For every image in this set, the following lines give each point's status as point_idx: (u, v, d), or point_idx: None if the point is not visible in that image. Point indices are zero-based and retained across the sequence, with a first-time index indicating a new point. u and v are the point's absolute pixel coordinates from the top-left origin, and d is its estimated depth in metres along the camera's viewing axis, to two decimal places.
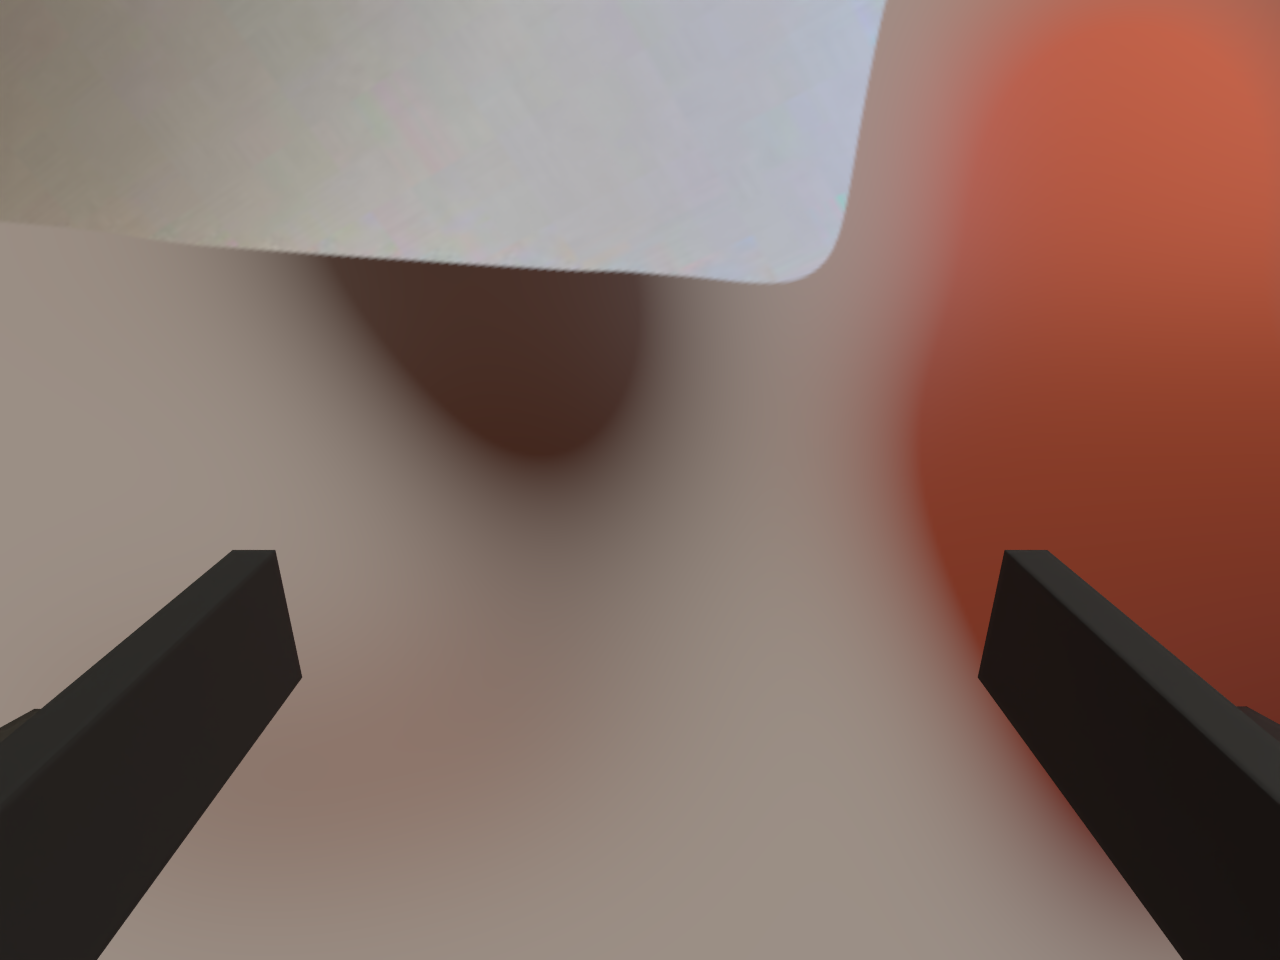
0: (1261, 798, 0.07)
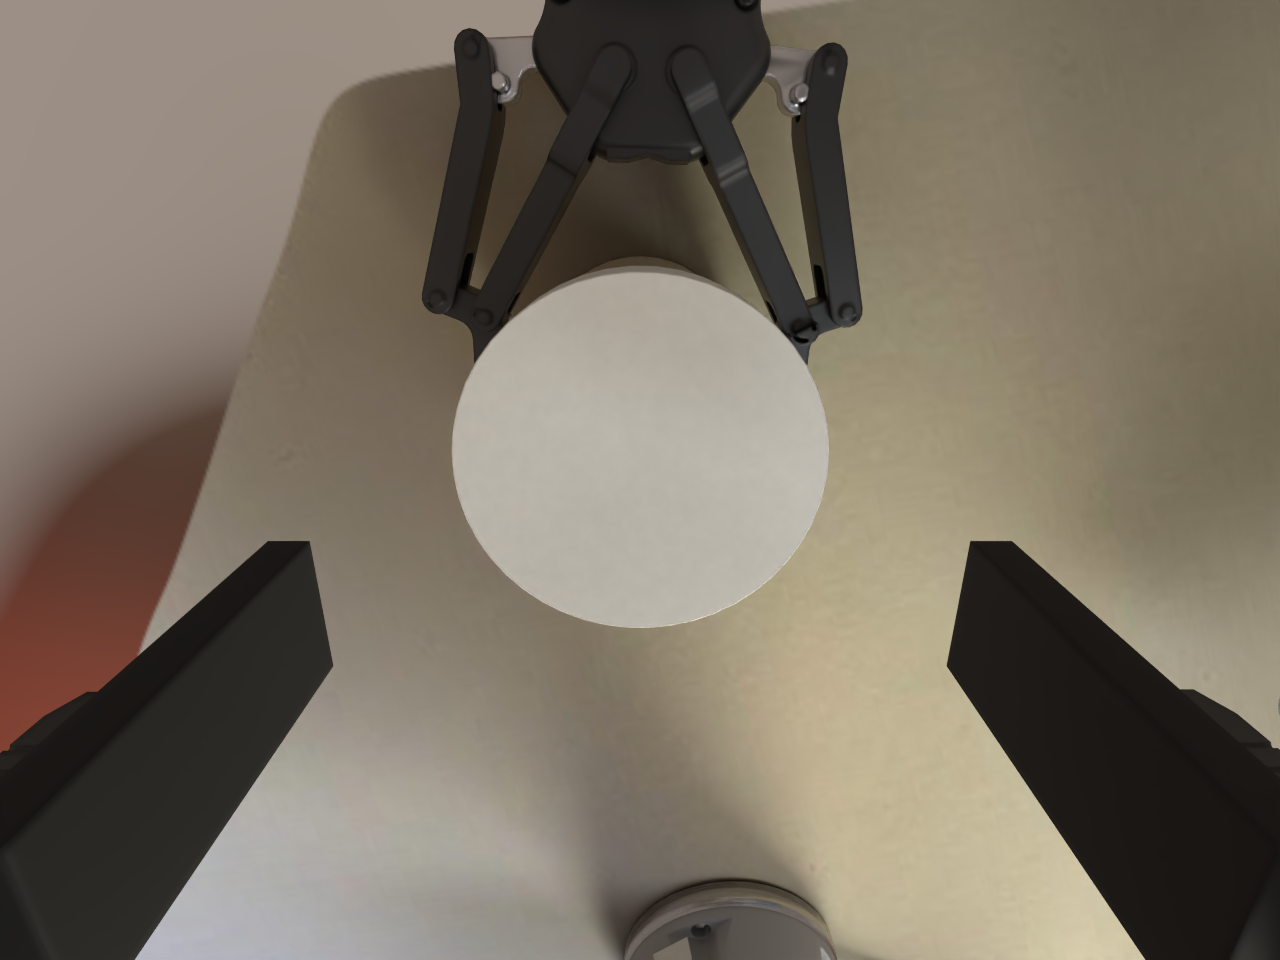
0: (1192, 772, 0.08)
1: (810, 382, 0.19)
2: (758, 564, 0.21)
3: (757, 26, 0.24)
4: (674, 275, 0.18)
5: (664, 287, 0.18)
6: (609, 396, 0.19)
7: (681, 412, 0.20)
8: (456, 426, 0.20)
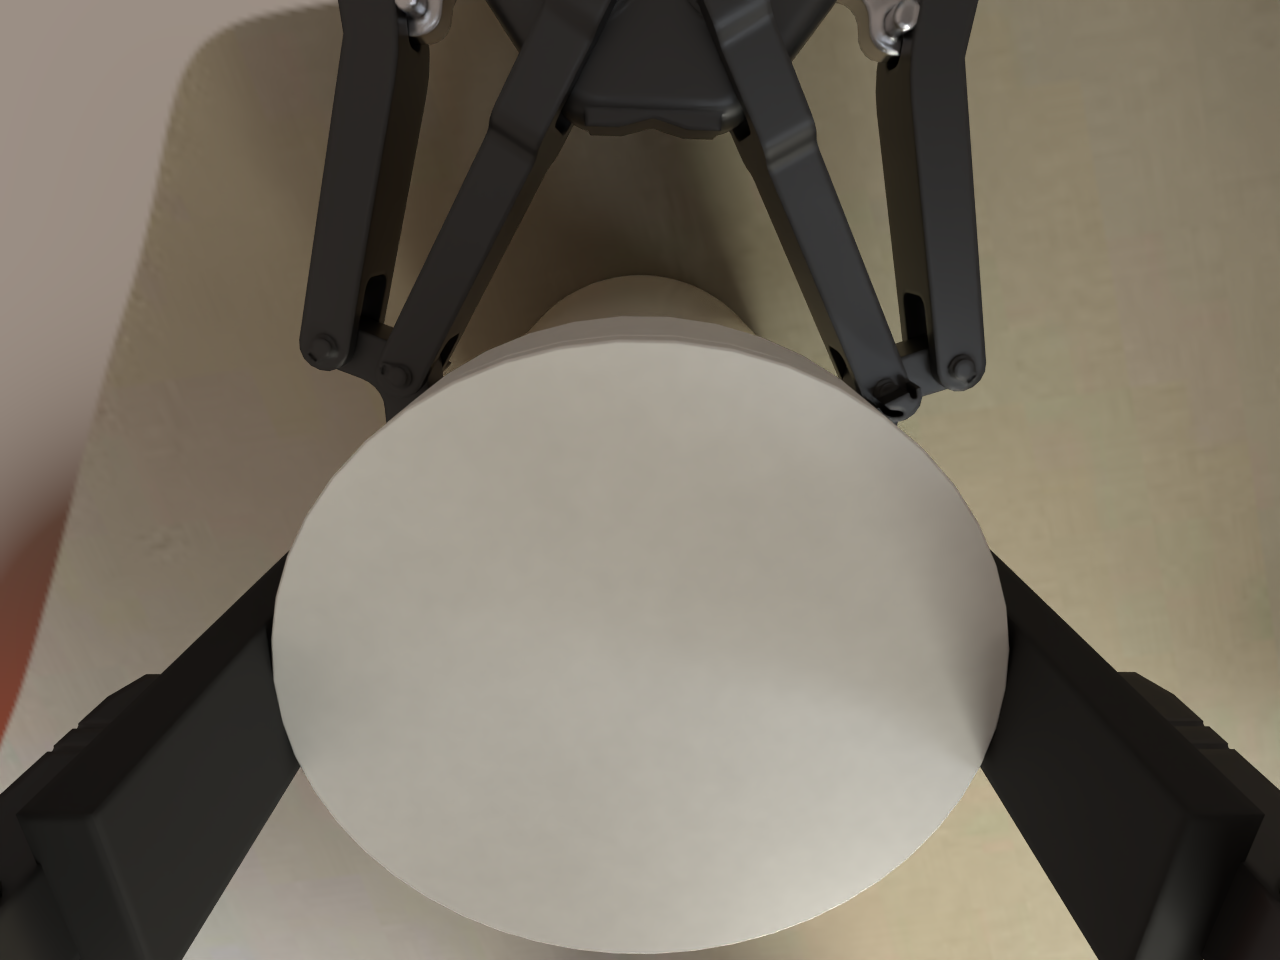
0: (1119, 746, 0.08)
1: (983, 556, 0.10)
2: (857, 860, 0.12)
3: None
4: (713, 347, 0.09)
5: (691, 372, 0.09)
6: (578, 580, 0.10)
7: (722, 610, 0.10)
8: (278, 635, 0.10)
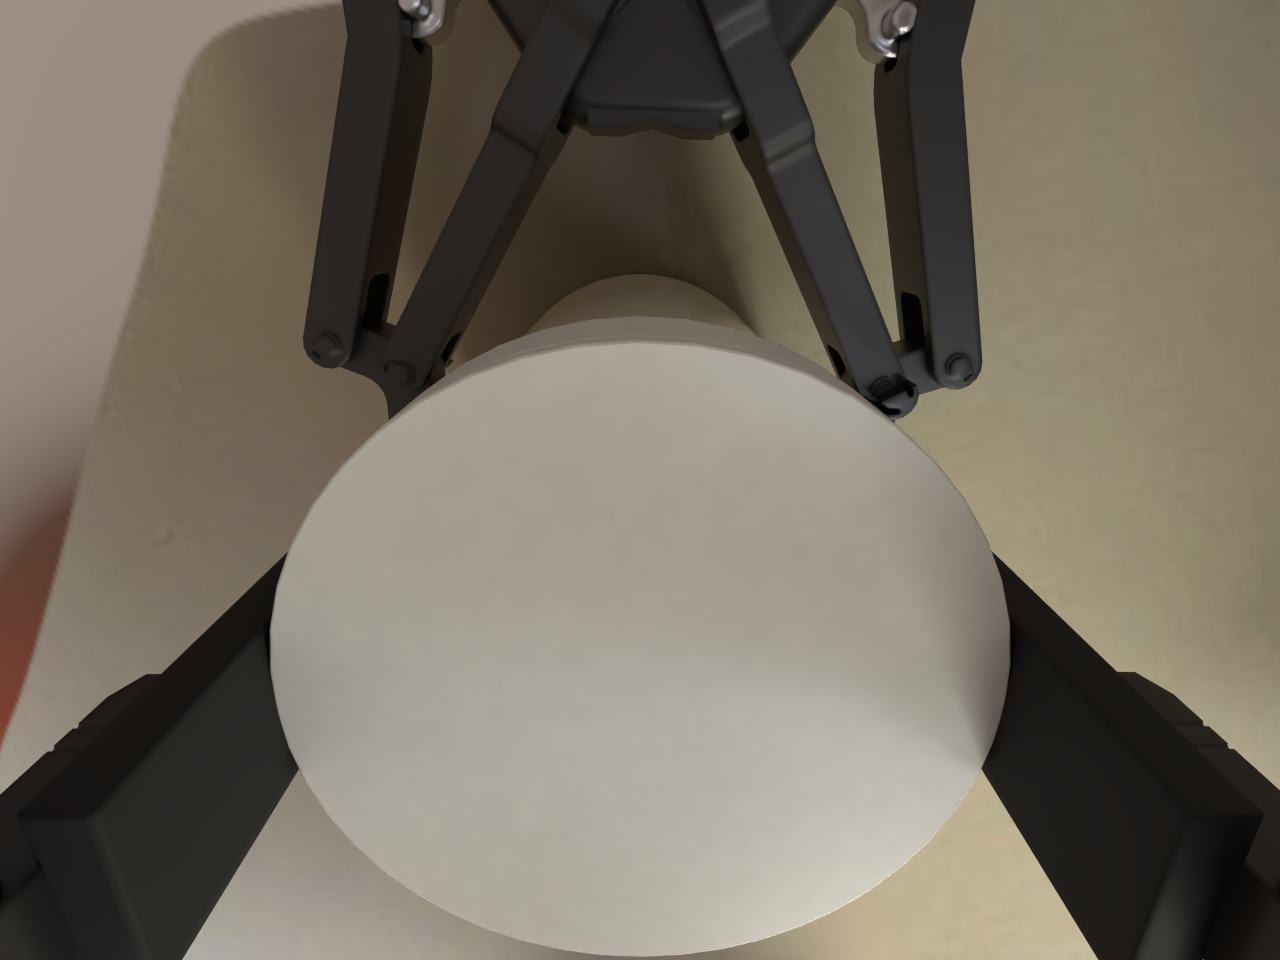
0: (1118, 746, 0.08)
1: (506, 370, 0.09)
2: (920, 522, 0.09)
3: None
4: (276, 600, 0.10)
5: (296, 620, 0.10)
6: (492, 733, 0.11)
7: (539, 624, 0.10)
8: (519, 936, 0.12)
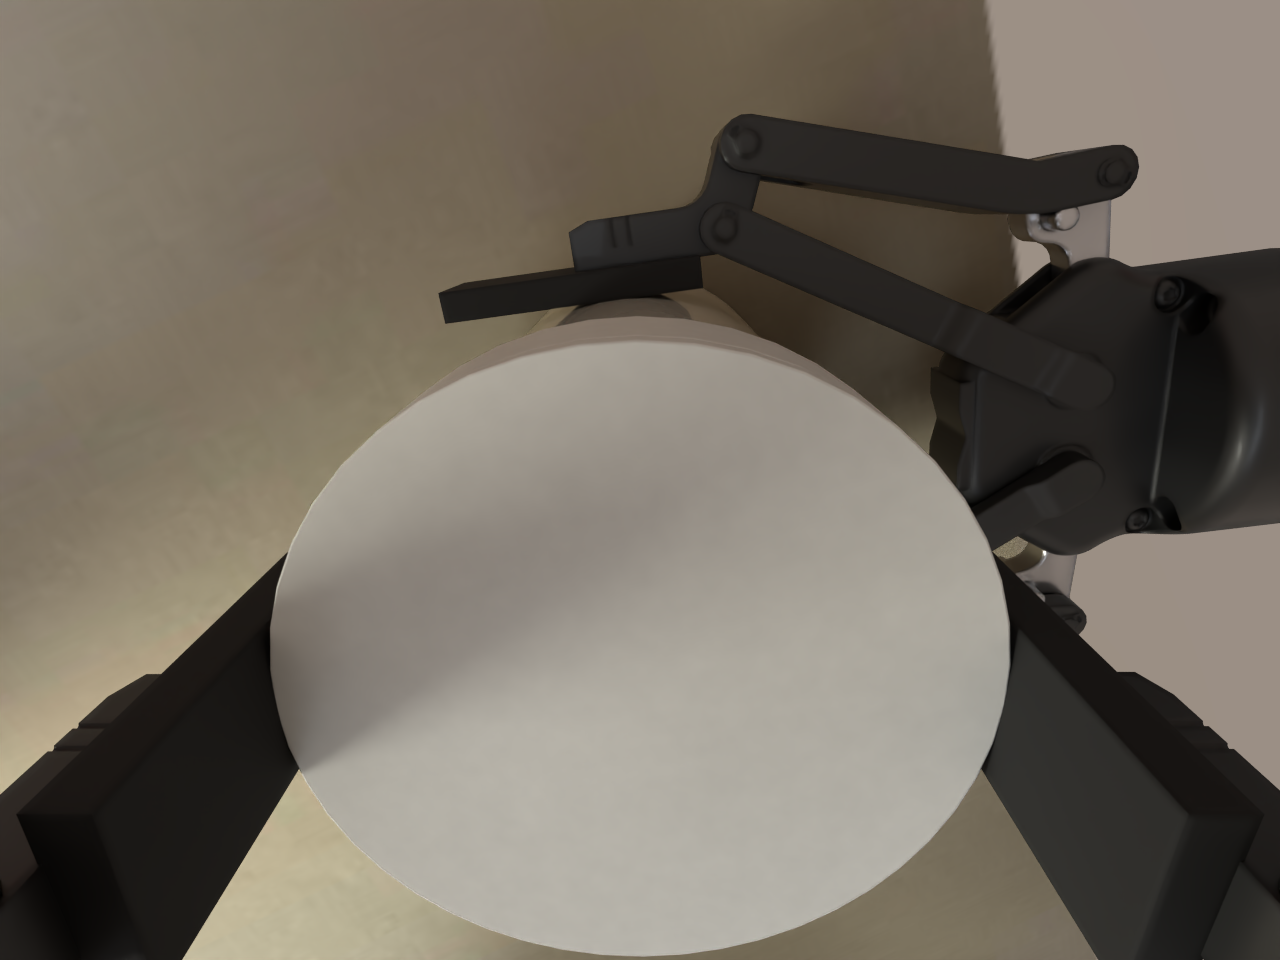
0: (1118, 746, 0.08)
1: (506, 370, 0.09)
2: (920, 522, 0.09)
3: (1106, 538, 0.20)
4: (276, 600, 0.10)
5: (297, 620, 0.10)
6: (493, 732, 0.11)
7: (539, 623, 0.10)
8: (519, 935, 0.12)
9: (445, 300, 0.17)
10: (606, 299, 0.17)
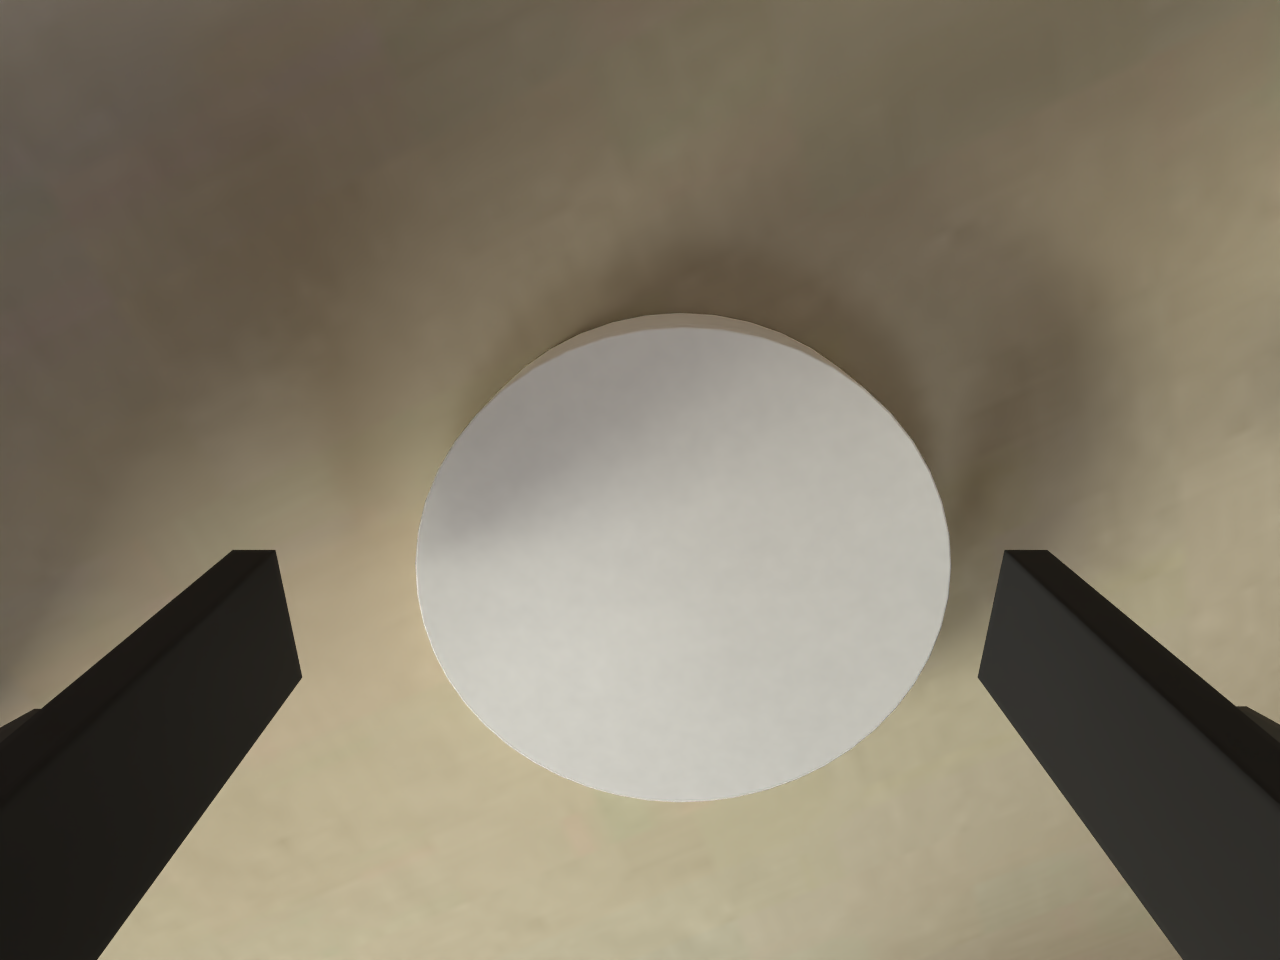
0: (1261, 798, 0.07)
1: (594, 347, 0.13)
2: (881, 458, 0.13)
3: None
4: (424, 511, 0.14)
5: (437, 526, 0.14)
6: (571, 615, 0.14)
7: (609, 531, 0.14)
8: (584, 782, 0.16)
9: None
10: None
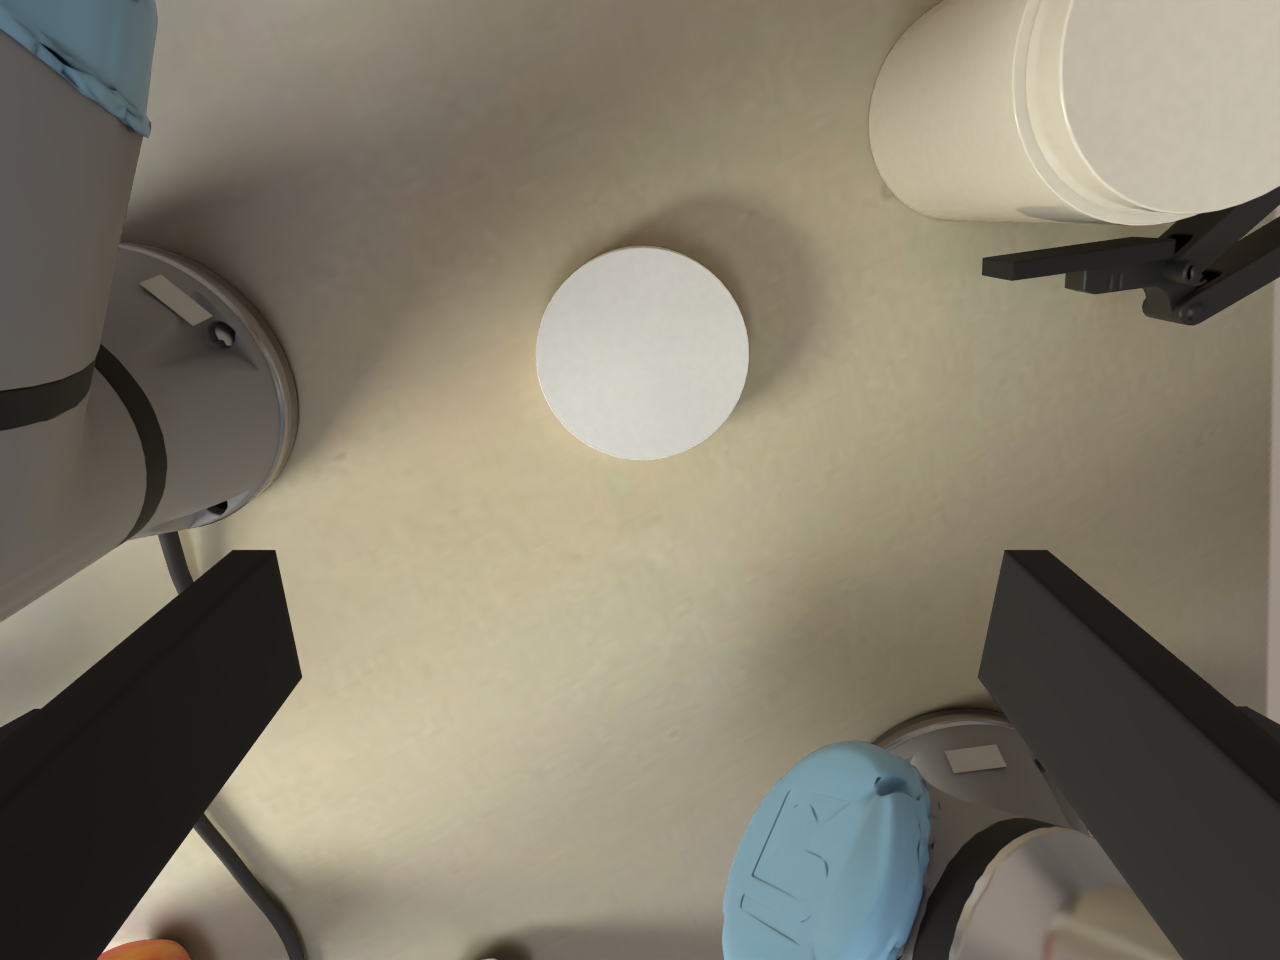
0: (1261, 798, 0.07)
1: (608, 255, 0.34)
2: (718, 299, 0.34)
3: None
4: (540, 323, 0.35)
5: (546, 330, 0.35)
6: (598, 369, 0.36)
7: (614, 331, 0.35)
8: (603, 450, 0.37)
9: None
10: None
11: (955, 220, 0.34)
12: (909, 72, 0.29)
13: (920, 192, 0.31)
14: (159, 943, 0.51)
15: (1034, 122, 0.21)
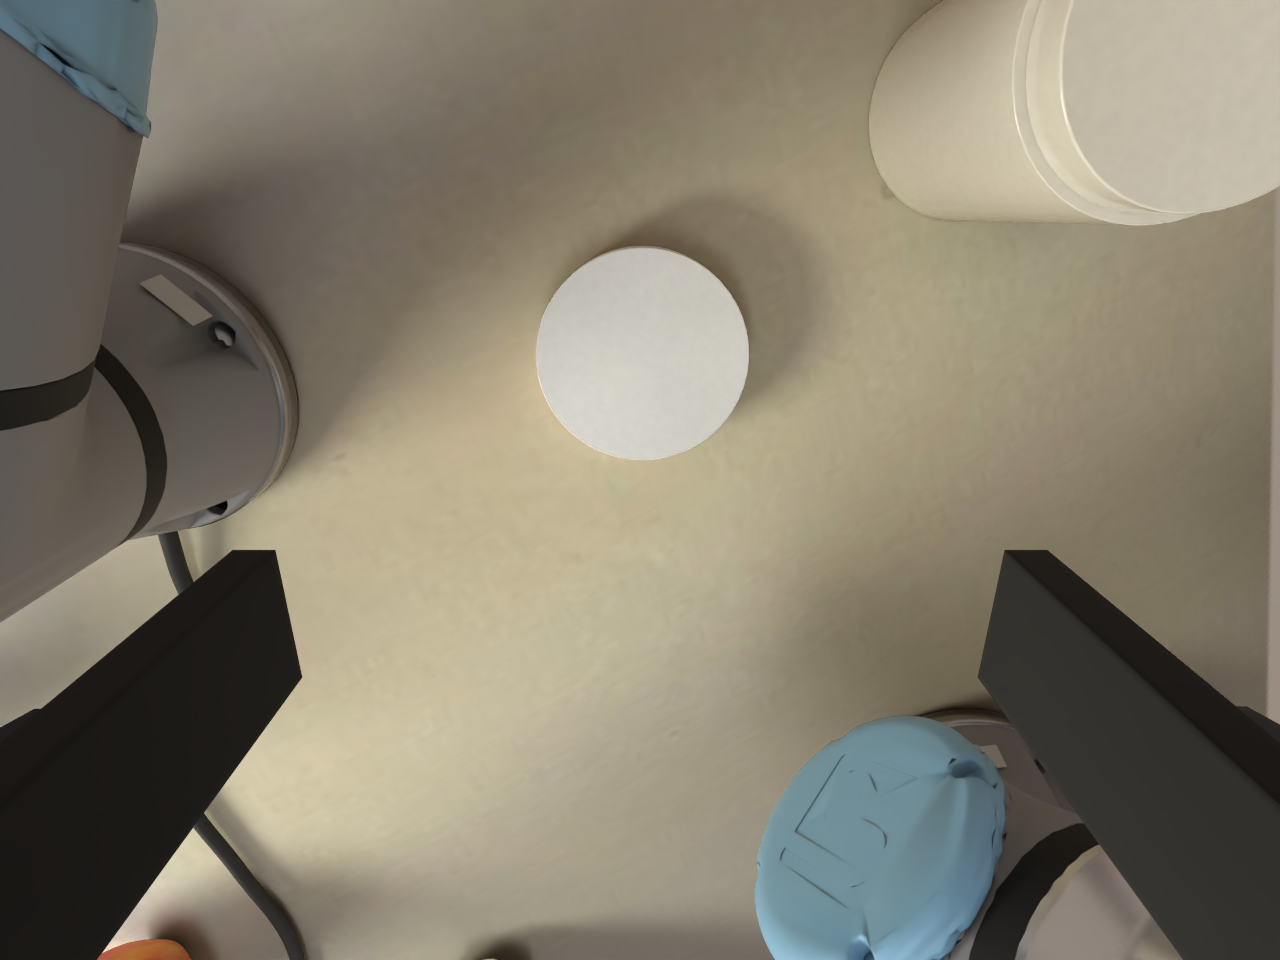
0: (1261, 798, 0.07)
1: (608, 255, 0.34)
2: (718, 299, 0.34)
3: None
4: (540, 323, 0.35)
5: (546, 330, 0.35)
6: (598, 369, 0.36)
7: (614, 331, 0.35)
8: (603, 451, 0.37)
9: None
10: None
11: (955, 220, 0.34)
12: (909, 72, 0.29)
13: (920, 192, 0.31)
14: (159, 943, 0.51)
15: (1034, 122, 0.21)
